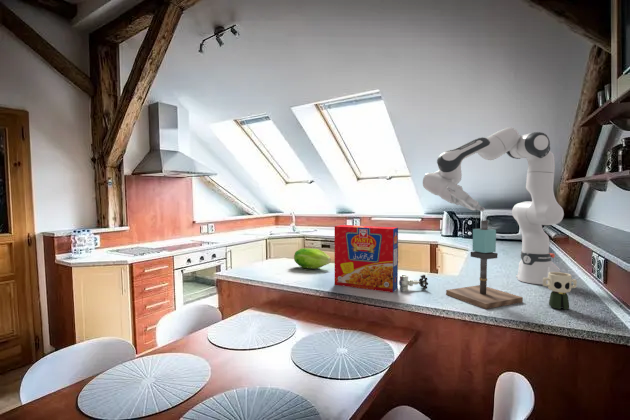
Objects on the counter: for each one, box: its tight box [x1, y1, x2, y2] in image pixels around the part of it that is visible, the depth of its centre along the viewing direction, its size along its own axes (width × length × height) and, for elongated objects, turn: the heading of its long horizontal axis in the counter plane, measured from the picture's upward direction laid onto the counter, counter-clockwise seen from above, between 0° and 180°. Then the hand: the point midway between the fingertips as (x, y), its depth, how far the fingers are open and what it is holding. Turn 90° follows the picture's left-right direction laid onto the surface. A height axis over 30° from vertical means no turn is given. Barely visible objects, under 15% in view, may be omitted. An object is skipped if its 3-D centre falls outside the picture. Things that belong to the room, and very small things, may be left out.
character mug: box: [542, 271, 578, 310], centre depth 128 cm, size 11×7×13 cm, turn 74°
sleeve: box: [471, 228, 497, 253], centre depth 140 cm, size 6×6×9 cm
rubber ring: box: [470, 251, 498, 260], centre depth 140 cm, size 7×7×2 cm
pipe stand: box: [445, 220, 524, 310], centre depth 140 cm, size 20×20×32 cm
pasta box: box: [334, 224, 399, 293], centre depth 159 cm, size 28×8×28 cm, turn 62°
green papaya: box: [293, 247, 332, 270], centre depth 198 cm, size 13×23×12 cm, turn 64°
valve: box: [398, 274, 429, 292], centre depth 154 cm, size 7×7×12 cm
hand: (480, 207), depth 148 cm, fingers open, 8 cm apart
